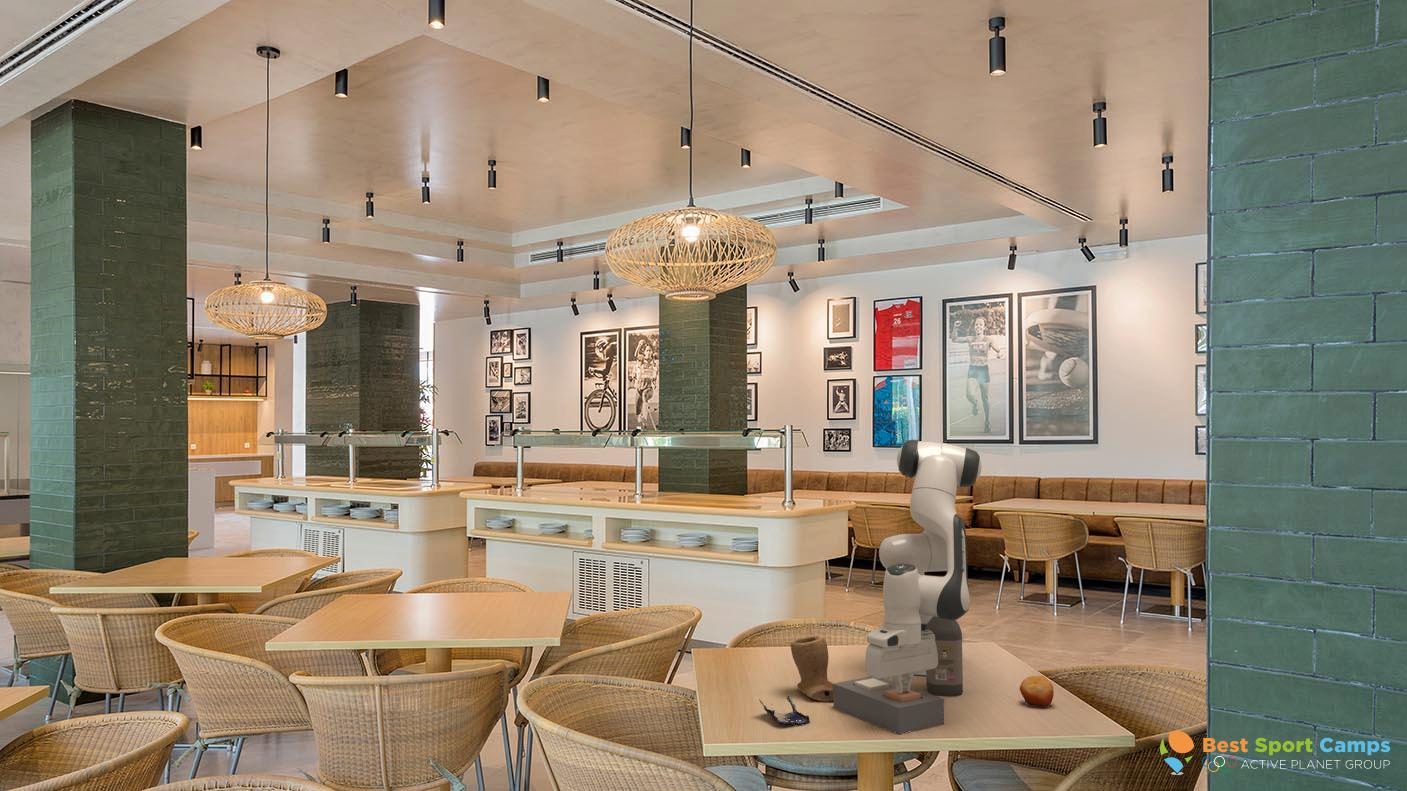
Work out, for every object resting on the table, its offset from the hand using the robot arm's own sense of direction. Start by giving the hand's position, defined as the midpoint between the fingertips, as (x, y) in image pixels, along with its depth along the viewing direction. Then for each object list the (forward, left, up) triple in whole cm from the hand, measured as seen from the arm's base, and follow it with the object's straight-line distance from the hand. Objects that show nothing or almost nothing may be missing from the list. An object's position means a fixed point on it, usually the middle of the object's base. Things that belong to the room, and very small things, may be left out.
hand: (903, 692), depth 226 cm
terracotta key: (0, 0, -3) cm, 3 cm away
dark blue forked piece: (-16, -23, -8) cm, 29 cm away
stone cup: (-29, -4, -7) cm, 30 cm away
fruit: (+7, +38, -7) cm, 39 cm away
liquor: (-14, +27, -7) cm, 31 cm away
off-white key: (-11, 0, -4) cm, 12 cm away
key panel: (-6, 0, -7) cm, 9 cm away
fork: (-17, +14, -8) cm, 23 cm away
